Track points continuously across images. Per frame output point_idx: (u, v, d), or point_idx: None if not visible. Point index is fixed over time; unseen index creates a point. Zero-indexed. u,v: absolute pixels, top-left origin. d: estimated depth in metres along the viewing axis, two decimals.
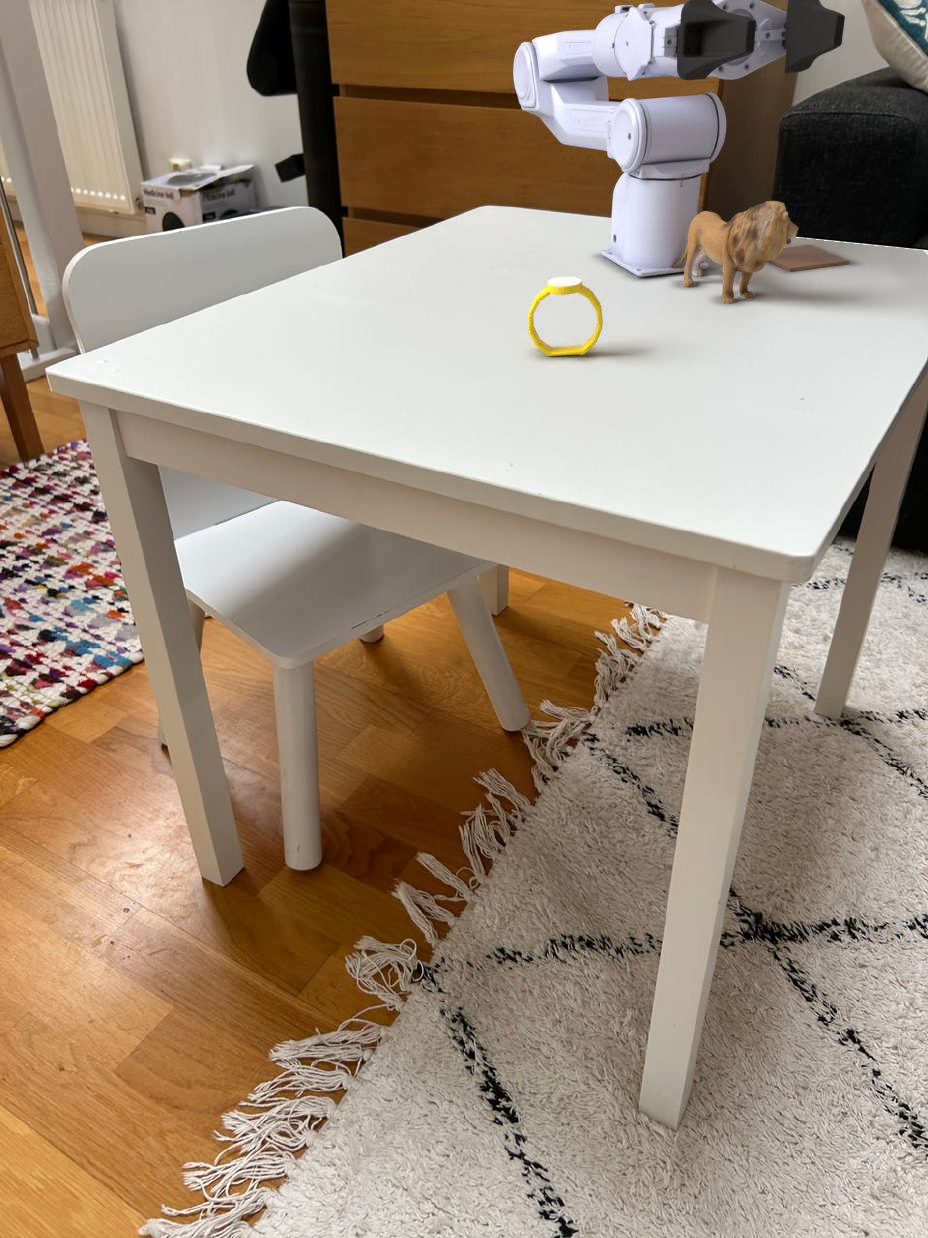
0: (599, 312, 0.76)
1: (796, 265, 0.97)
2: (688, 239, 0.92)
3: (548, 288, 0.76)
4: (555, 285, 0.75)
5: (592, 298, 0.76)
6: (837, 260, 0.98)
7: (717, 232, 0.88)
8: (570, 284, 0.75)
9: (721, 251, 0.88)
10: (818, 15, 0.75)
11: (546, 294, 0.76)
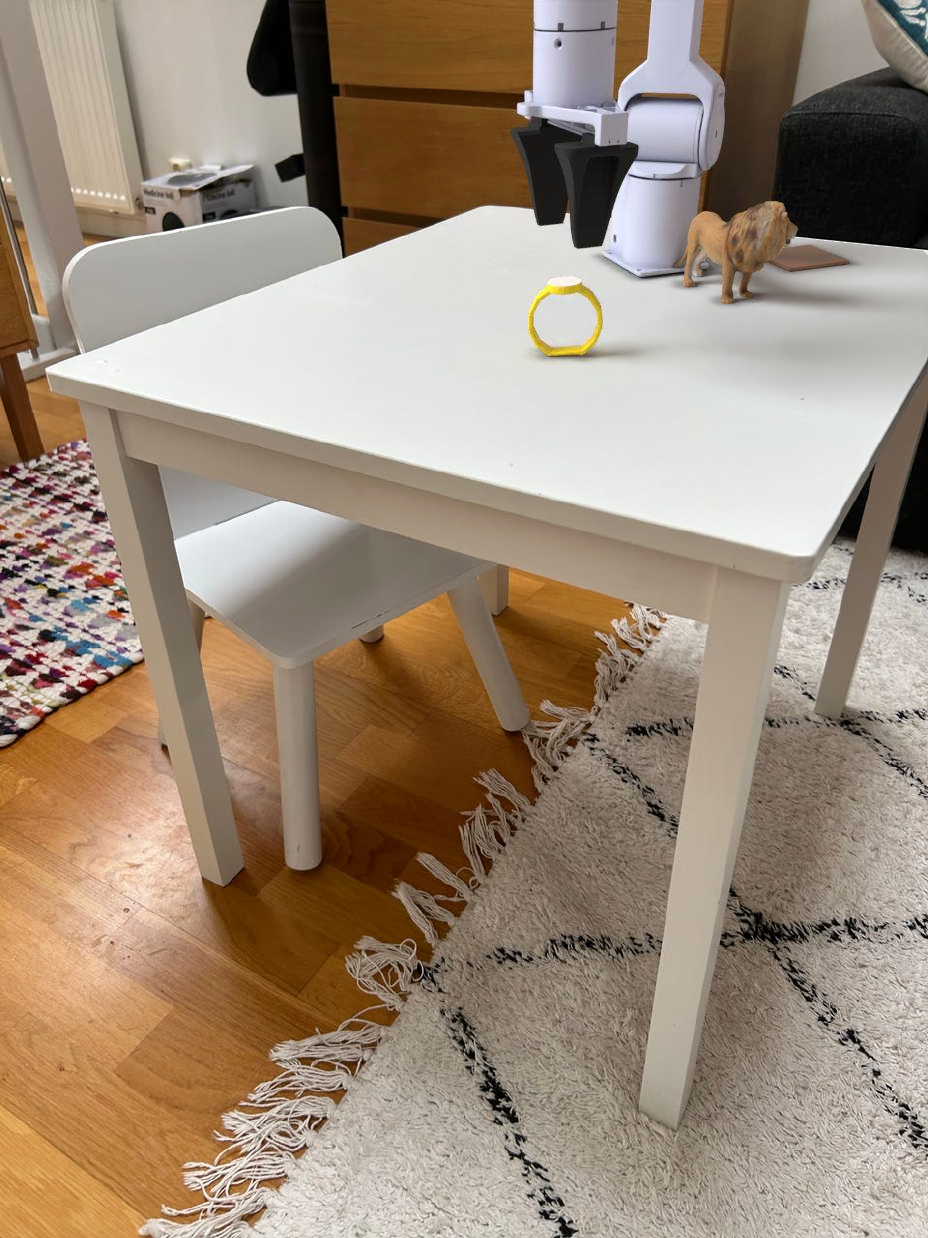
0: (599, 312, 0.76)
1: (796, 265, 0.97)
2: (688, 239, 0.92)
3: (548, 288, 0.76)
4: (555, 285, 0.75)
5: (592, 298, 0.76)
6: (837, 260, 0.98)
7: (716, 232, 0.88)
8: (570, 284, 0.75)
9: (720, 251, 0.88)
10: None
11: (546, 294, 0.76)
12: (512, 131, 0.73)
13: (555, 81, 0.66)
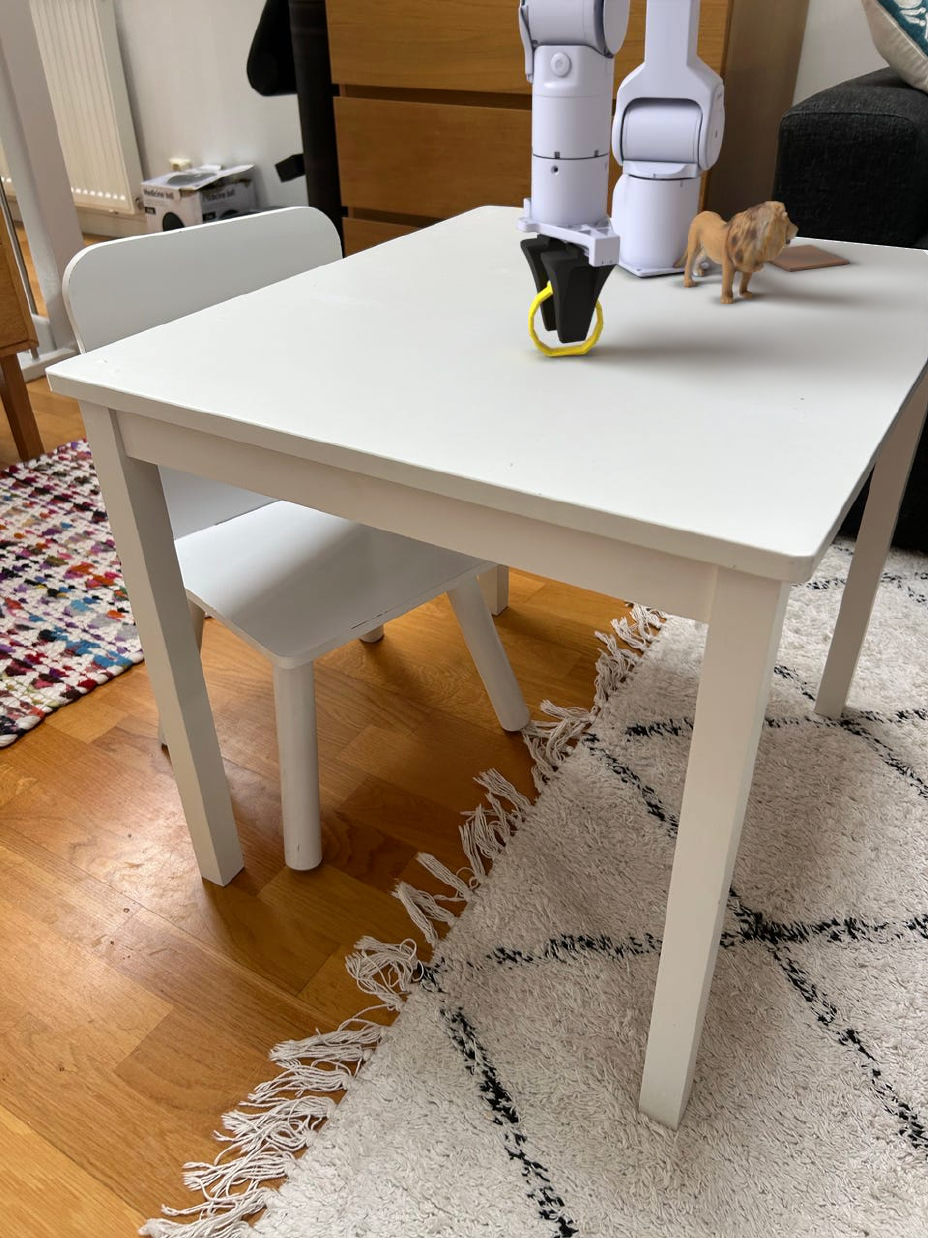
0: (600, 311, 0.77)
1: (796, 265, 0.97)
2: (688, 239, 0.92)
3: (549, 289, 0.76)
4: None
5: None
6: (837, 260, 0.98)
7: (717, 232, 0.88)
8: None
9: (720, 251, 0.88)
10: None
11: (547, 295, 0.76)
12: (521, 244, 0.76)
13: (552, 202, 0.70)
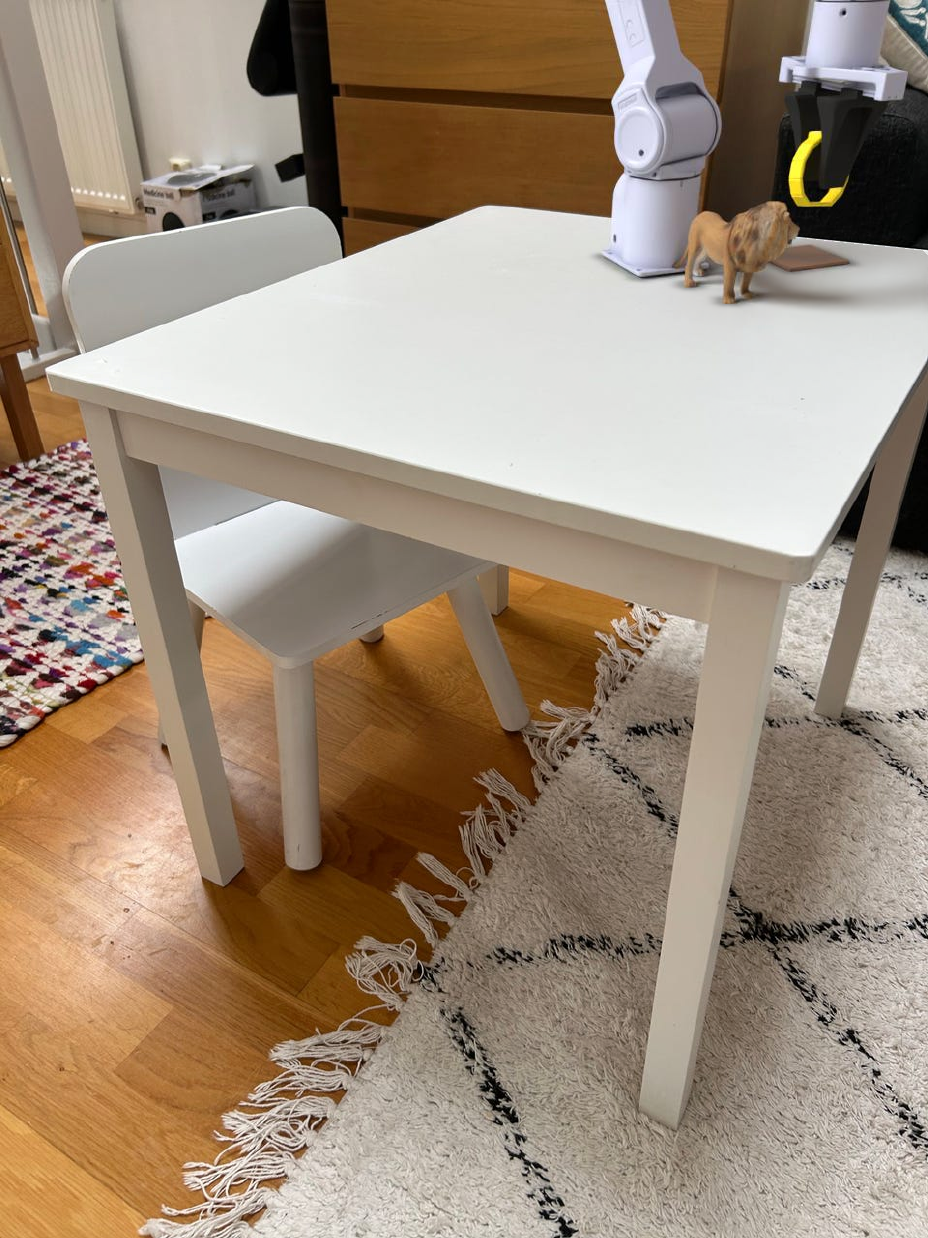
0: None
1: (796, 265, 0.97)
2: (689, 239, 0.92)
3: (820, 135, 0.81)
4: None
5: None
6: (837, 260, 0.98)
7: (718, 232, 0.88)
8: None
9: (722, 252, 0.88)
10: None
11: (819, 141, 0.81)
12: (787, 95, 0.82)
13: (836, 45, 0.76)
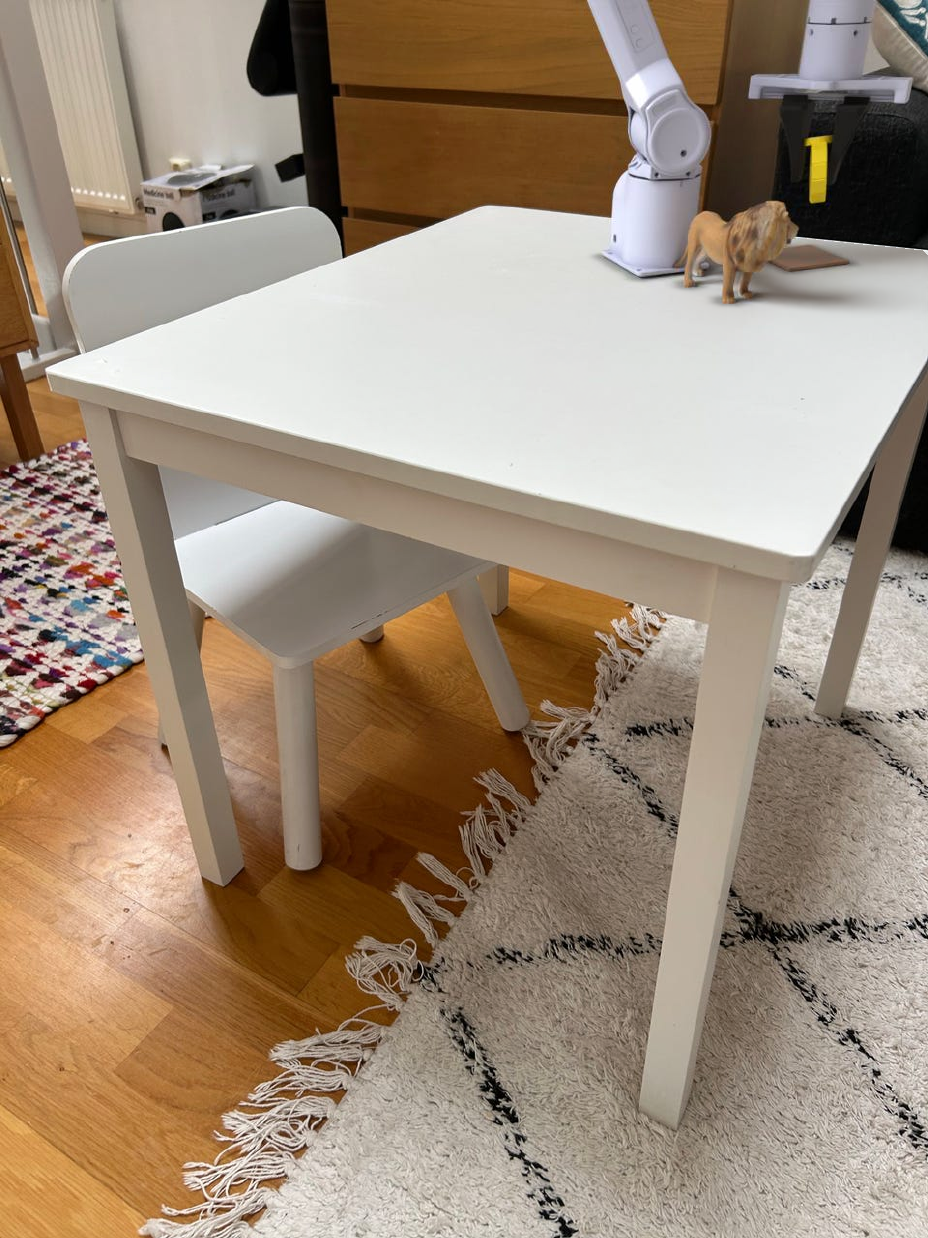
0: None
1: (796, 265, 0.97)
2: (688, 239, 0.92)
3: (826, 139, 0.92)
4: (830, 135, 0.93)
5: None
6: (837, 260, 0.98)
7: (717, 232, 0.88)
8: None
9: (721, 251, 0.88)
10: (831, 154, 0.93)
11: None
12: (789, 108, 0.91)
13: (850, 61, 0.88)
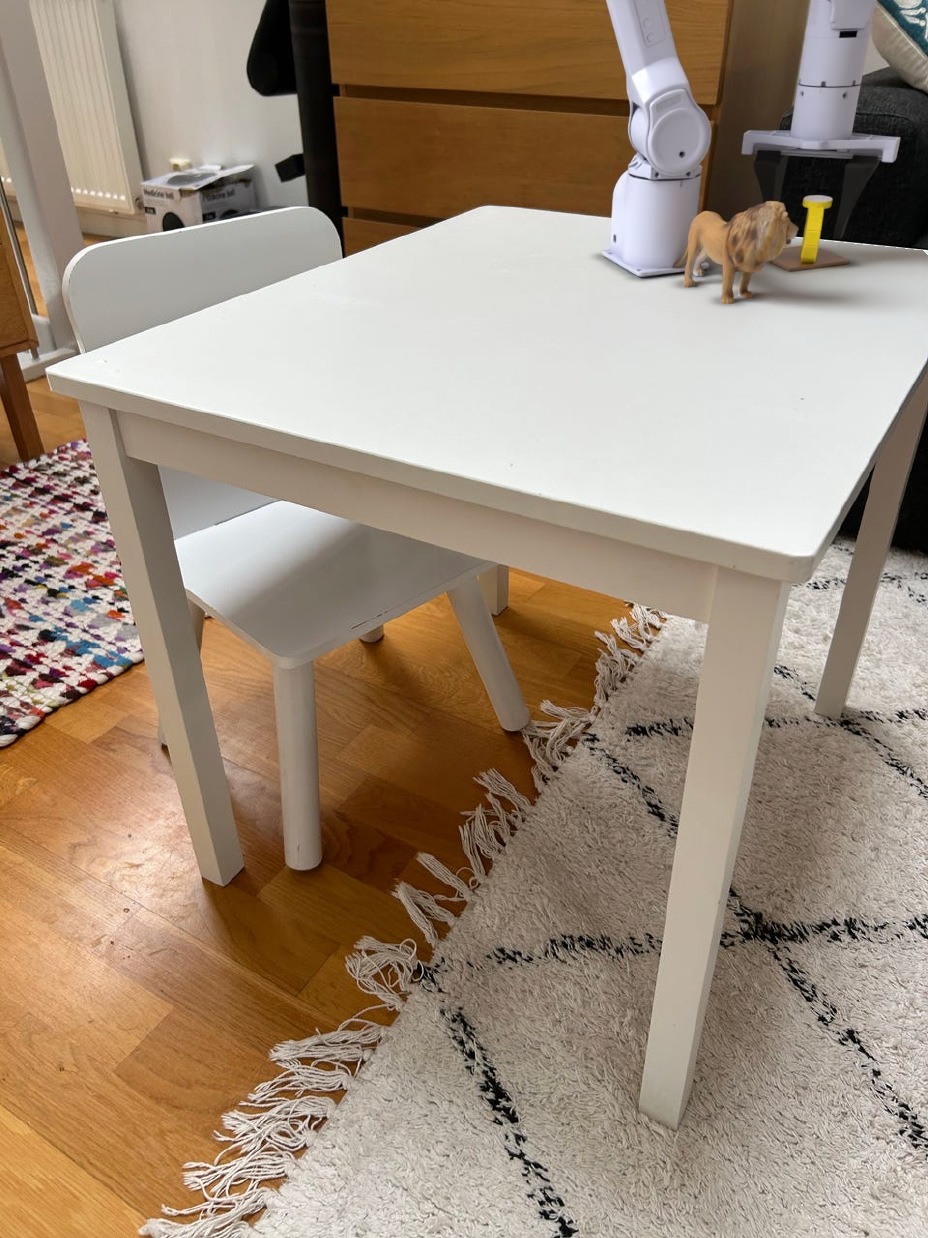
0: None
1: (796, 265, 0.97)
2: (689, 239, 0.92)
3: (823, 205, 0.95)
4: (829, 200, 0.95)
5: None
6: (837, 260, 0.98)
7: (717, 232, 0.88)
8: (827, 197, 0.96)
9: (721, 251, 0.88)
10: (839, 210, 0.95)
11: (823, 210, 0.95)
12: (762, 164, 0.95)
13: (839, 121, 0.91)
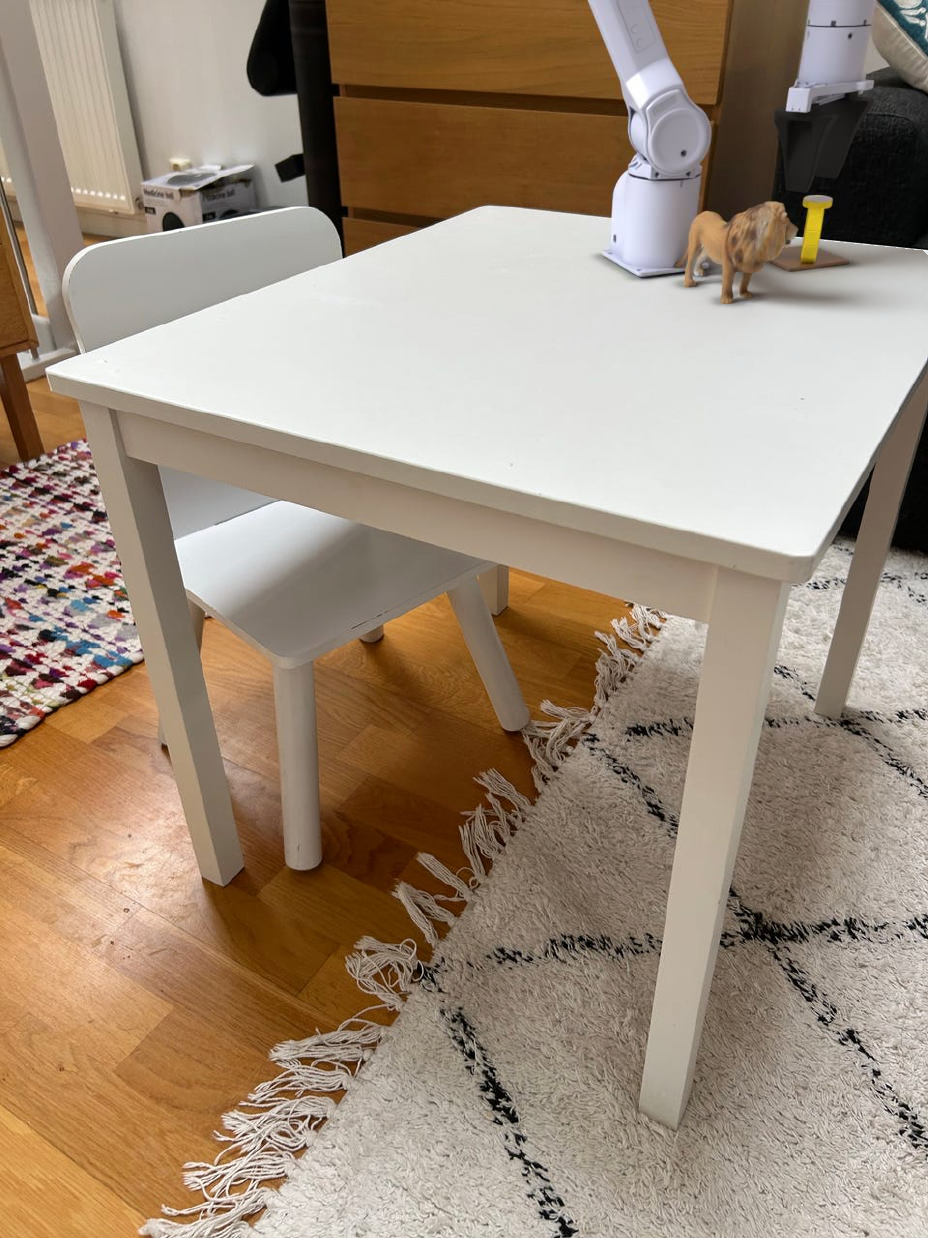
0: None
1: (796, 265, 0.97)
2: (689, 239, 0.92)
3: (823, 205, 0.95)
4: (829, 200, 0.95)
5: None
6: (837, 260, 0.98)
7: (717, 232, 0.88)
8: (827, 197, 0.96)
9: (720, 251, 0.88)
10: (841, 149, 0.96)
11: (823, 210, 0.95)
12: (834, 117, 0.88)
13: None
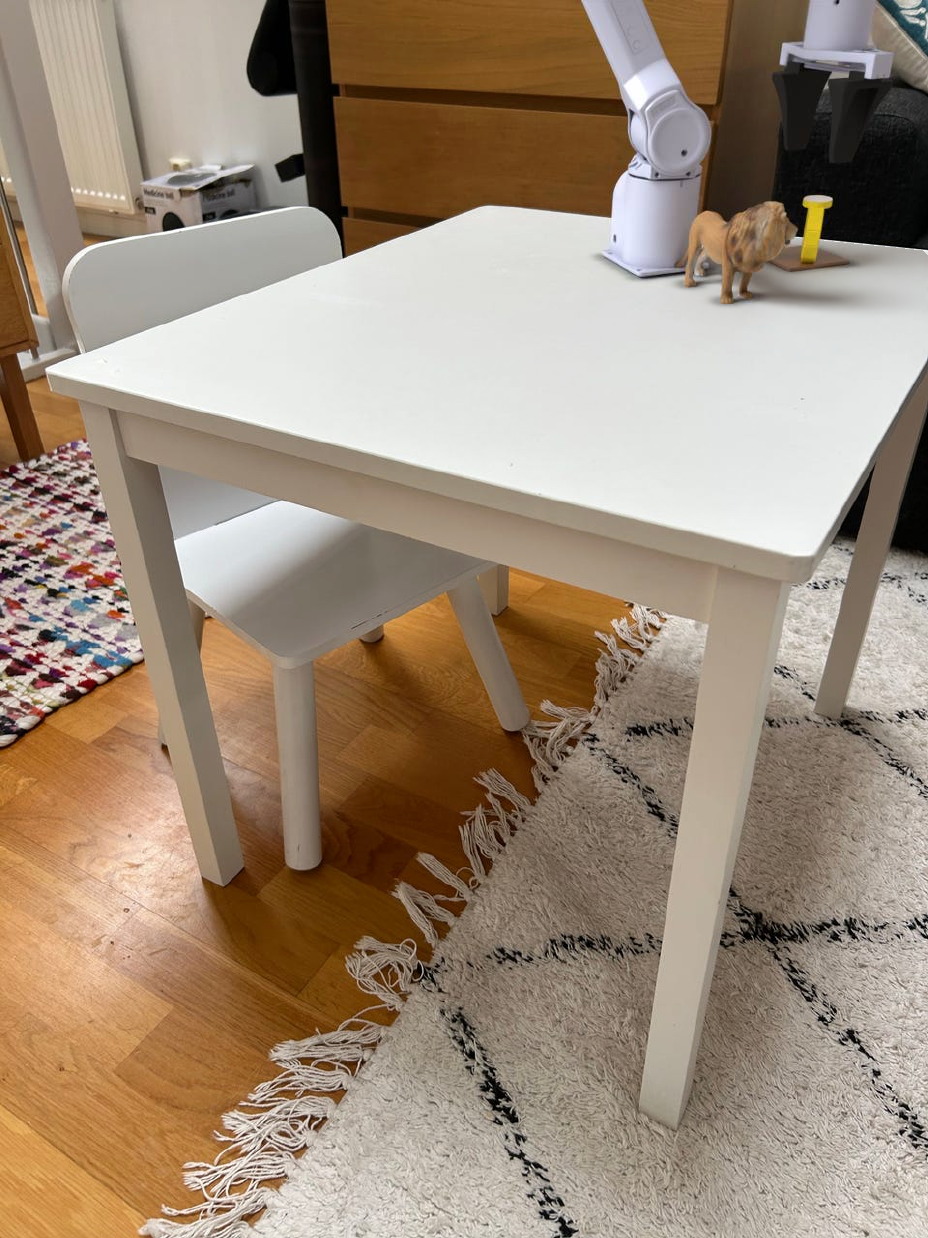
0: None
1: (796, 265, 0.97)
2: (689, 239, 0.92)
3: (823, 205, 0.95)
4: (829, 200, 0.95)
5: None
6: (837, 260, 0.98)
7: (717, 232, 0.88)
8: (827, 197, 0.96)
9: (720, 251, 0.88)
10: (810, 118, 0.96)
11: (823, 210, 0.95)
12: None
13: None
